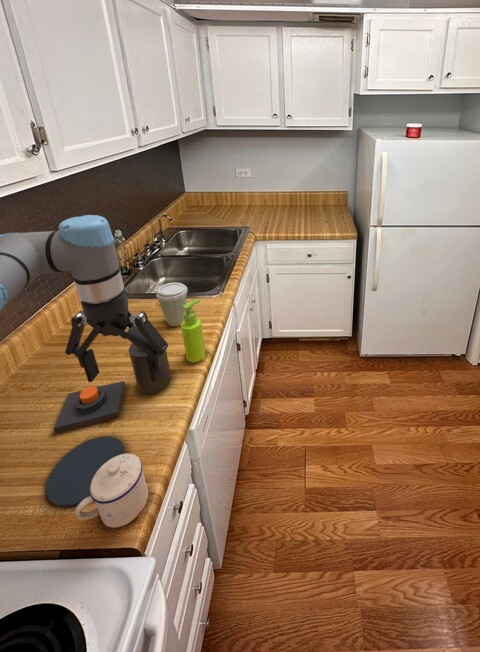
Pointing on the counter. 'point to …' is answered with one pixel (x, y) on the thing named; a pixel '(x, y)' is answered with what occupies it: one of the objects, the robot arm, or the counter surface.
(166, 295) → the disposable coffee cup
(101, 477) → the teacup with lid
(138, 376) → the dark grey cylinder
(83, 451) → the mat
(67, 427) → the kettle base
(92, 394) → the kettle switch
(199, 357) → the soap dispenser
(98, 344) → the counter surface
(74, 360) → the counter surface
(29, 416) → the counter surface
